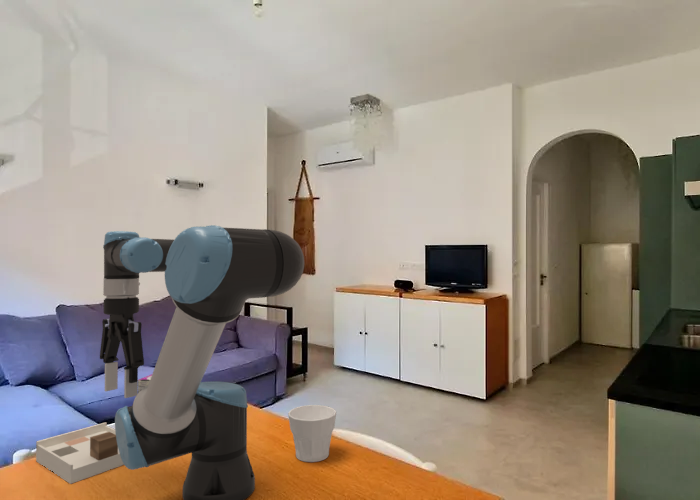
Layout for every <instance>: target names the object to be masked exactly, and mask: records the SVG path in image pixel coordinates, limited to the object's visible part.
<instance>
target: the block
mask: <svg viewBox="0 0 700 500" xmlns="http://www.w3.org/2000/svg"><path fill="white" fill-rule="evenodd" d="M117 454H118V445H117V440H116V435H115V434H113V433H111V432H106V433H103V434H100V435H96V436H93V437H90V456H91V457H93V458H95V459H97V460H102V459H105V458H108V457H111V456H114V455H117Z"/></svg>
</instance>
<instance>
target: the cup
mask: <svg viewBox="0 0 700 500" xmlns="http://www.w3.org/2000/svg"><path fill="white" fill-rule="evenodd" d="M287 415H288V421H289V422H288V423H289V429H290V431H291V433H292V437H293V442H294V449H295V457H296V459H298V460H299V461H300V462H301V461H302V462H305V463H318V462H321V461H324V460H326V459H327V458H328V457H329V455H330V447H331V441H332V435H333V434H332V433H333V432H334V429H335V424H336V417H337V411H336V409H334V408H333V407H330V406H327V405H322V404H320V405H319V404H310V405H309V404H308V405H307V404H306V405H301V406H297V407H294V408H292V409H290V410H289V411H288V413H287Z"/></svg>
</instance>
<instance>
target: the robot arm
mask: <svg viewBox="0 0 700 500" xmlns="http://www.w3.org/2000/svg"><path fill="white" fill-rule="evenodd" d="M304 269H305V255H304V253H303V250H302V248H301V246H300V244H299V242H297V241H296V239H294V238H293V237H291V236H290V235H289V234H287V233H284V232H282V231H279V230H274V229H264V228H262V229H259V228H239V227H223V226H220V225H216V224H215V225H212V224H211V225H206V226H191V227H187V228H186V229H183V230H182V231H181V232H179V234H177V236H176V237H175V238H174V239H170V238H167V239H165V238H149V237H141V236H140V235H139V233H138V232H136V231H125V230H121V231H120V230H116V231H108V232H106V233H105V235H104V240H103V275H104V276H103V291H102V292H103V293H102V294H103V296H104V297H105V298H104V299H103V314H104V315H109V318H104V319H102V334H101V340H100V341H101V342H100V350H99V360H102V361H103V363H104V392H110V391H114V390H117V389H118V385H119V384H118V383H119V382H118V375H119V374H118V373H119V372H118V369H119V368H118V367H119V364H118V361H119V358H118V353H119V348H120V344H121V346H122V350H123V352H122V353H123V355H124V359H125V361H124V362H125V363H126V365H125V366H124V367H123V369H124V380H123V381H124V385H123V386H124V389H123V392H124V397H123V398H124V399H127V398H132V397H134V400H133V403H132V405H131V406H128V405H124V407H121V408H119V409H118V410H117V411H116V412H115V416H114V429H115V433H116V440H117V445H118V449H119V453H120V456H121V459H122V461H123V464H124V465H123V466H125V467H126V468H127V469H128V470H132V471H133V470H138V469H143V468H148V467H151V466H154V465H156V464H159V463H164V462H166V461H170V460H173V459H176V458H179V457H183V456H185V455H189V454H191V459H190V462H189V466H188V469H187V471H186V476H185V479H184V481H183V484H182V499H183V500H246V499H247V498H249V497H250V496H251V495H252V494H254V493H253V492H254V491H255V489H256V488H255V487H256V478H255V473H254V471H253V467H252V464H251V460H250V458H249V455H248V449H247V448H248V447H247V446H248V439H247V437H248V435H247V434H248V433H247V432H248V431H247V429H248V427H247V426H248V424H247V423H248V408H249V407H248V400H247V399H248V397H247V391H246V389H245V387H243V386H242V385H240V384H237V383H235V382H233V383H232V382H227V381H202V380H203V379H204V376H205V374H206V371H207V368H208V367H209V364H210V361H211V360H212V357H213V354H214V352H215V350H216V347H217V345H218V343H219V341H220V339H221V336H222V334H223V331H224V329H225V327H226V324H228V323H230V322H233V321H234V320H236V319H237V318H238V317H239V316H240V314H241V312H242V310H243V308H244V305H245V303H246V301H247V300H249V299H261V298H272V297H277V296H280V295H282V294H285V293H286V292H289V291H291V290H292V289H294V287H295V286H296V285H297V284H298V283H299V281H300V280H301V278H302V276H303V273H304ZM158 272H159V273H162V272H164V283H165V288H166V290H167V292H168V295H169V296H170V297H171V300H172V303H173V304H174V306H175V307H176V308H175V310H174V312H173V315H172V318H171V321H170V323H169V327H168V329H167V333H166V335H165V339H164V341H163V342H162V343H163V344H162V345H161V348H160V352H159V354H158V355H159V356H158V357H157V360H156V362H155V366H154V369H153V372H152V373H151V374H152V377H151V380H150V382H149V385H148V386H147V387H145V388H144V389H142V390H141V391H140V392H139V393H138V380H139V378H138V377H139V375H138V374H139V371H138V370H139V368H140V367H141V366H144V365H145V360H144V359H145V358H144V350H143V349H144V348H143V340H142V339H143V338H142V327H143V326H142V322H141V321H135V318H134V315H135V314H137V313H138V312H139V311H140V298H139V297H137V296H138V295H139V294H140V285H141V283H140V273H158Z"/></svg>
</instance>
